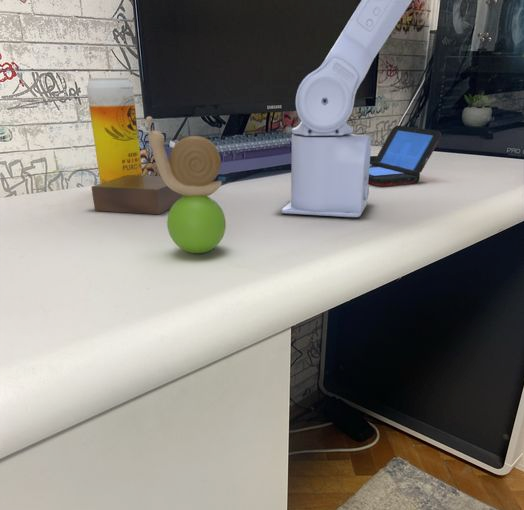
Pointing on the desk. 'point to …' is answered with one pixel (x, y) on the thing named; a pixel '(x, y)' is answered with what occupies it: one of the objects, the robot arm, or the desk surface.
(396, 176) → the handheld console
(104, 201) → the walnut block
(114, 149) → the glass of beer
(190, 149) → the snail figurine
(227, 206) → the desk surface
